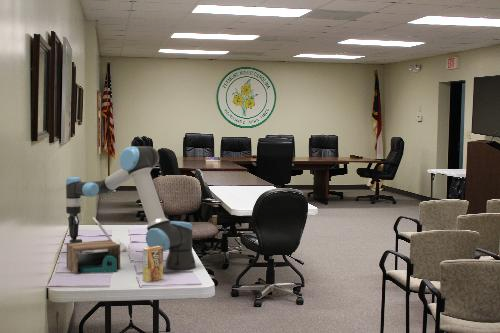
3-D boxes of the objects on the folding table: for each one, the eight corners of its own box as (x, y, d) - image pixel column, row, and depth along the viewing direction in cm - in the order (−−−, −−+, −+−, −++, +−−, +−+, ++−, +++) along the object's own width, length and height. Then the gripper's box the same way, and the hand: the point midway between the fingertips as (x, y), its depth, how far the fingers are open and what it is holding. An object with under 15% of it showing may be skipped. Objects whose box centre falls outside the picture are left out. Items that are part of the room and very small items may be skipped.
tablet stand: (94, 253, 357) (94, 223, 356) (88, 245, 380) (88, 216, 379) (127, 252, 364) (127, 222, 362) (119, 243, 387) (119, 215, 386)
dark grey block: (109, 264, 329) (109, 246, 329) (71, 268, 319) (71, 249, 319) (92, 254, 352) (92, 237, 352) (57, 257, 342) (56, 240, 342)
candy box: (157, 277, 304) (157, 245, 303) (163, 279, 301) (163, 246, 300) (142, 280, 298) (142, 248, 297) (148, 282, 295) (148, 249, 294)
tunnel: (120, 269, 320) (120, 245, 319) (75, 274, 308) (75, 249, 307) (109, 263, 333) (109, 239, 332) (66, 267, 322) (66, 243, 321)
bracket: (117, 269, 321) (117, 253, 320) (116, 272, 314) (116, 256, 314) (79, 270, 318) (79, 254, 317) (78, 273, 311) (78, 257, 311)
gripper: (83, 206, 344) (84, 250, 346) (76, 204, 355) (77, 246, 357) (69, 207, 340) (70, 251, 342) (63, 204, 352) (63, 247, 353)
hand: (73, 249), depth 350 cm, fingers closed
